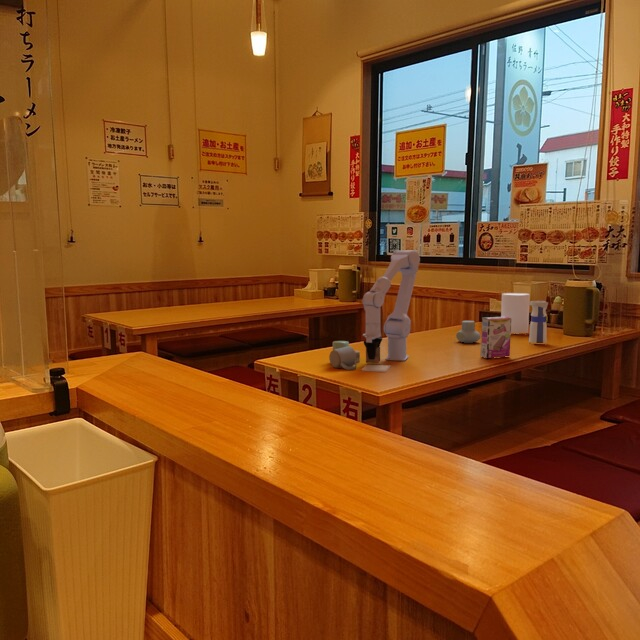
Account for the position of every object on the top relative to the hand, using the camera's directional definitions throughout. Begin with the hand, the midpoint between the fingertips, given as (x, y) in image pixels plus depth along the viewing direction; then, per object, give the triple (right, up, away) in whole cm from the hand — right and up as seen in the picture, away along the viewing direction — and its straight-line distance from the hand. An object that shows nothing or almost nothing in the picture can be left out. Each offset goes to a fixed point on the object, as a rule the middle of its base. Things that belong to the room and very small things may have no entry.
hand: (373, 358), depth 230 cm
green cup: (-12, -2, +5) cm, 13 cm away
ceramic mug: (-11, -4, -5) cm, 13 cm away
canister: (+80, +8, +76) cm, 110 cm away
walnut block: (0, -1, 0) cm, 2 cm away
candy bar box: (+51, -1, +11) cm, 52 cm away
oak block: (-7, -2, +7) cm, 10 cm away
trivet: (0, -4, -8) cm, 9 cm away
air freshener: (+49, +4, +48) cm, 69 cm away
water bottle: (+80, +4, +44) cm, 91 cm away
